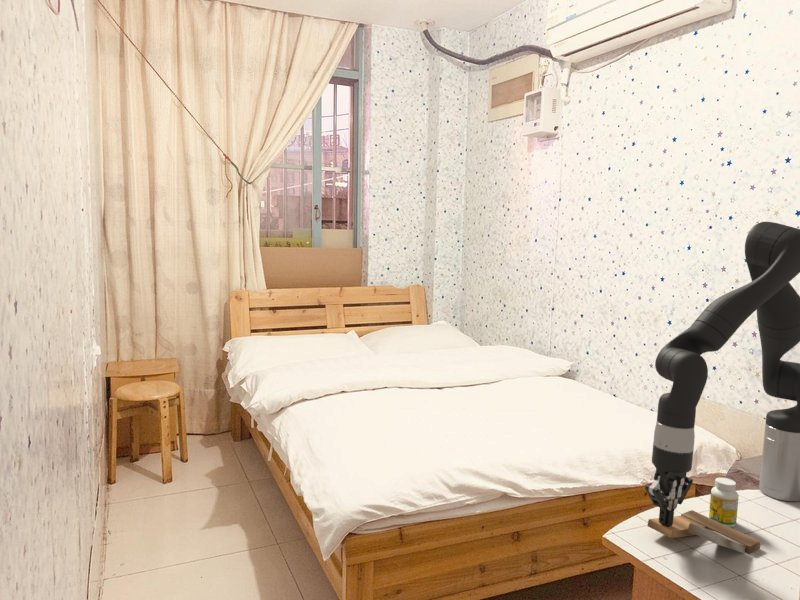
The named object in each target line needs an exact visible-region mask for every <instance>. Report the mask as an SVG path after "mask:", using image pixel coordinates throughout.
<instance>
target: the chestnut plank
mask: <svg viewBox="0 0 800 600" xmlns="http://www.w3.org/2000/svg"><path fill="white" fill-rule="evenodd" d="M690 523H692V524H695V525H697V526H700V527H703V528H706V526H703V525H701V524H699V523H697V522H695V521H693V520H691V519H689V518H687V517H684V516H681V515H677V516H676V515H674V518H673V525H672V526H669V527H666V526H665V525H663V524H661V523H659V517H657V518H655V517H654V518H648V520H647V527H649V528H651V529H653V530H655V531H657V532H658V533H660V534H662V535H664V536H666V537H667V538H670V539H674V538H675V539H676V538H682V537H689V536H697V535H696V534H694V533H692V532H690V531H688V527H689V524H690Z"/></svg>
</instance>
